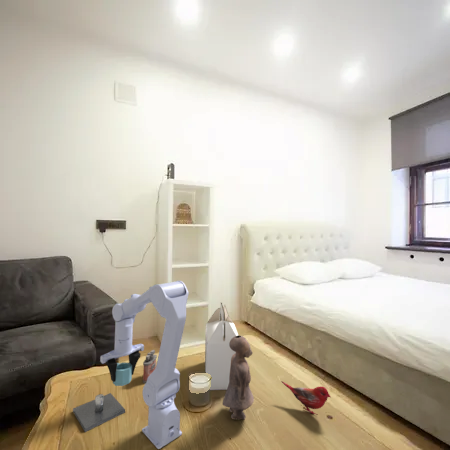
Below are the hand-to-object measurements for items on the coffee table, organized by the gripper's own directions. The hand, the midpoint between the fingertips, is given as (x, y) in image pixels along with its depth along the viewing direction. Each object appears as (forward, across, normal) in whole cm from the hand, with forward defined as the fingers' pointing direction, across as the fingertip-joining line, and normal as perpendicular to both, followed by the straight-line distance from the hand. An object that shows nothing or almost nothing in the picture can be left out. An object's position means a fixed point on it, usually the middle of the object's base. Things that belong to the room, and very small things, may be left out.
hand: (122, 377), depth 90 cm
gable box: (+9, -38, +11) cm, 40 cm away
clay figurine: (+9, -25, +32) cm, 41 cm away
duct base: (+8, +8, 0) cm, 11 cm away
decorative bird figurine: (+9, -43, +46) cm, 63 cm away
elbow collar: (+1, 0, -1) cm, 2 cm away
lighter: (+9, -14, -7) cm, 18 cm away
